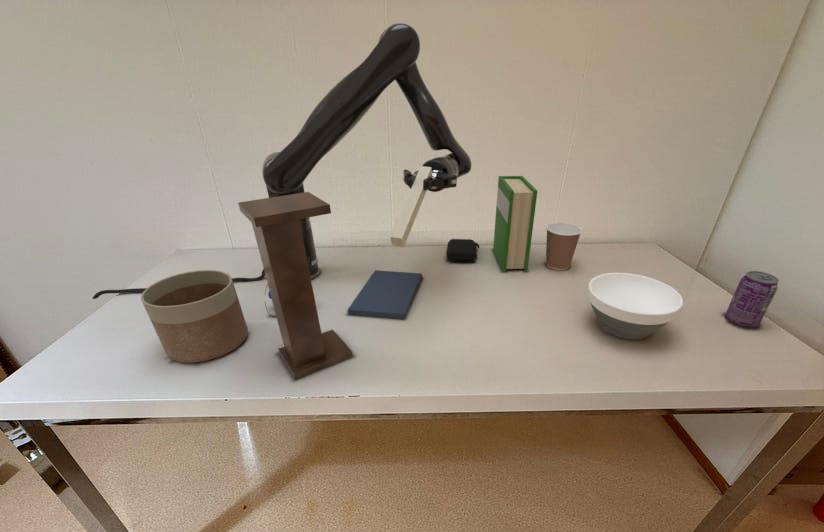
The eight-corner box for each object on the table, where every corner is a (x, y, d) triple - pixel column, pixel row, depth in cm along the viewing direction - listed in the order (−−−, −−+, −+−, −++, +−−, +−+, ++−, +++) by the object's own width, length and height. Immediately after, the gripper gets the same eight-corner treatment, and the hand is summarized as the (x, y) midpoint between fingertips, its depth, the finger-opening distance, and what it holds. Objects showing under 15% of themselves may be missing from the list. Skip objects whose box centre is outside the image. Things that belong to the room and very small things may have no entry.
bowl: (689, 347, 85) (704, 310, 80) (606, 356, 82) (617, 318, 77) (638, 303, 101) (648, 269, 96) (567, 309, 99) (574, 275, 94)
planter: (173, 331, 89) (149, 277, 82) (249, 317, 94) (233, 265, 87) (160, 373, 76) (131, 313, 69) (248, 354, 82) (230, 297, 75)
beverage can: (753, 316, 96) (775, 272, 90) (762, 331, 91) (786, 285, 84) (720, 311, 98) (739, 268, 92) (728, 325, 93) (748, 280, 86)
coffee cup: (548, 256, 127) (554, 220, 121) (579, 264, 122) (587, 227, 116) (535, 266, 120) (540, 229, 114) (567, 275, 115) (574, 237, 109)
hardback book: (527, 271, 117) (537, 190, 105) (502, 272, 117) (510, 190, 104) (514, 248, 132) (522, 175, 120) (493, 249, 132) (498, 176, 119)
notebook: (348, 314, 95) (347, 309, 95) (375, 274, 114) (375, 270, 114) (404, 319, 94) (403, 314, 93) (422, 278, 113) (422, 273, 112)
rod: (403, 247, 77) (401, 238, 75) (392, 245, 78) (389, 236, 76) (432, 176, 89) (431, 167, 87) (422, 175, 89) (420, 165, 87)
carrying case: (480, 264, 121) (478, 246, 134) (480, 255, 120) (479, 237, 132) (446, 263, 122) (448, 245, 134) (446, 254, 120) (448, 237, 133)
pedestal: (295, 379, 75) (253, 217, 58) (279, 354, 82) (237, 202, 65) (352, 356, 81) (329, 204, 65) (333, 334, 88) (308, 191, 71)
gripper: (412, 155, 98) (387, 162, 83) (466, 160, 95) (450, 169, 80) (411, 186, 101) (387, 198, 86) (464, 192, 99) (448, 206, 84)
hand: (418, 184), depth 83 cm, fingers closed on rod, 2 cm apart
